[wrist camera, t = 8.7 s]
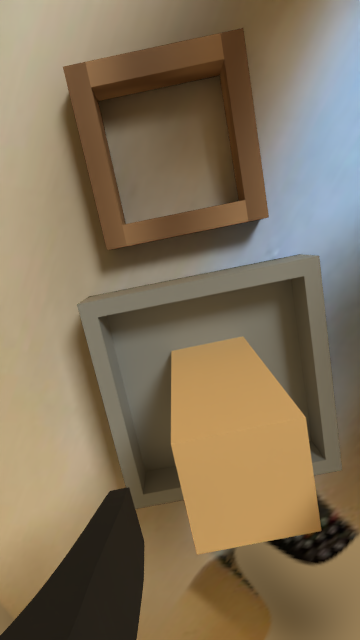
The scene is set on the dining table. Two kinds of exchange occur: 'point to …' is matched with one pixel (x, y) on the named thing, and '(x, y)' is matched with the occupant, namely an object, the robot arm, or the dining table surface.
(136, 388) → the tray
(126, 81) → the socket collar
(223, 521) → the tan rectangular block
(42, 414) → the dining table surface
